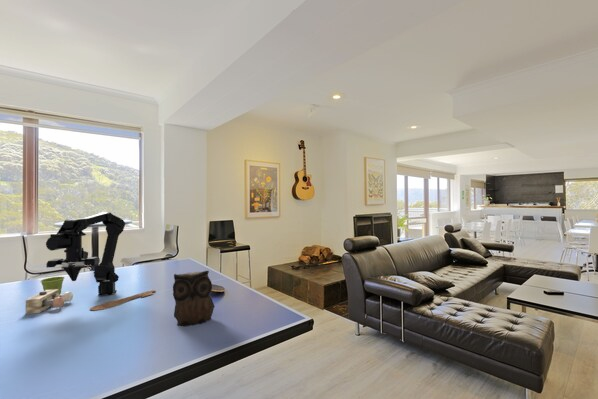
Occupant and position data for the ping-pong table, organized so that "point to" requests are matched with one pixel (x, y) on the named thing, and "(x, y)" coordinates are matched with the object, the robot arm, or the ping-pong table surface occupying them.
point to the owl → (192, 298)
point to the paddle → (121, 301)
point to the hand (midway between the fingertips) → (74, 280)
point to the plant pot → (52, 283)
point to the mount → (39, 301)
